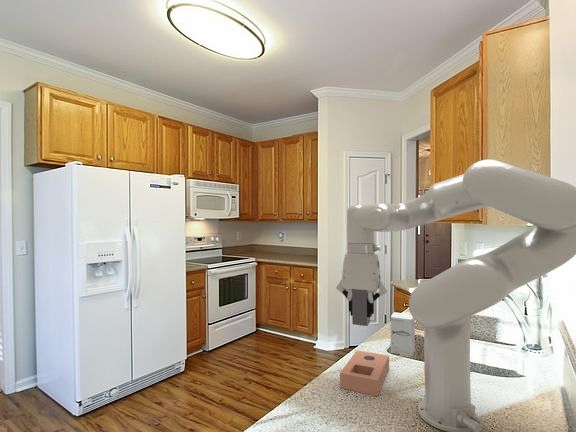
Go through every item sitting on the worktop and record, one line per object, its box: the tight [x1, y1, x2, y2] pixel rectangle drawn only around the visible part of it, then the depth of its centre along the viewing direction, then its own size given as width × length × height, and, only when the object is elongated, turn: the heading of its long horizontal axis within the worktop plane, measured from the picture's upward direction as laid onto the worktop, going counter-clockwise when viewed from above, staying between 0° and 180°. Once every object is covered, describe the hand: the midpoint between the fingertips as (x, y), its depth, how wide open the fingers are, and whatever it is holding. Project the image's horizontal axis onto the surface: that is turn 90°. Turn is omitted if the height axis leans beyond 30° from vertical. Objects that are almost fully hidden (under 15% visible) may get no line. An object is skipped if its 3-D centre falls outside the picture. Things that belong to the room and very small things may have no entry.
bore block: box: [339, 350, 390, 397], centre depth 95 cm, size 18×10×4 cm, turn 154°
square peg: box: [351, 289, 371, 327], centre depth 91 cm, size 4×4×10 cm
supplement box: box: [390, 311, 416, 358], centre depth 114 cm, size 7×7×13 cm
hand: (361, 314), depth 91 cm, fingers closed on square peg, 4 cm apart
